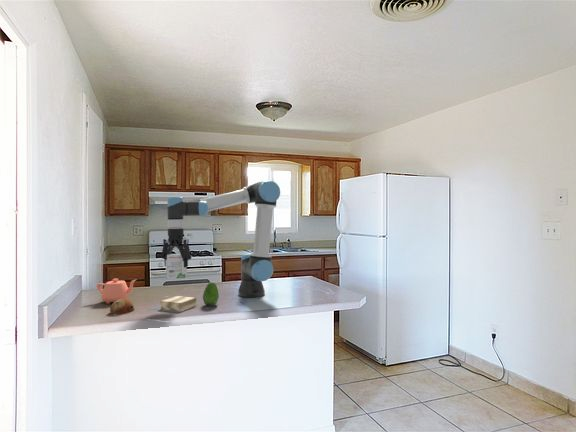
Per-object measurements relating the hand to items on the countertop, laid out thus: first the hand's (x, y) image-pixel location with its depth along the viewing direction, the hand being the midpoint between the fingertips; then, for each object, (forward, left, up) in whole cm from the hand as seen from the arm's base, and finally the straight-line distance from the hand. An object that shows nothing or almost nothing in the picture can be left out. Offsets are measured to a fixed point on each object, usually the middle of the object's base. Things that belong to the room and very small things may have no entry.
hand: (176, 273), depth 190 cm
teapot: (+37, +1, -17) cm, 41 cm away
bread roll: (+19, +16, -17) cm, 30 cm away
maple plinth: (-2, 0, -17) cm, 17 cm away
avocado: (-14, -10, -17) cm, 24 cm away
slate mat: (+1, 0, -17) cm, 17 cm away
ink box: (0, 0, -2) cm, 2 cm away
